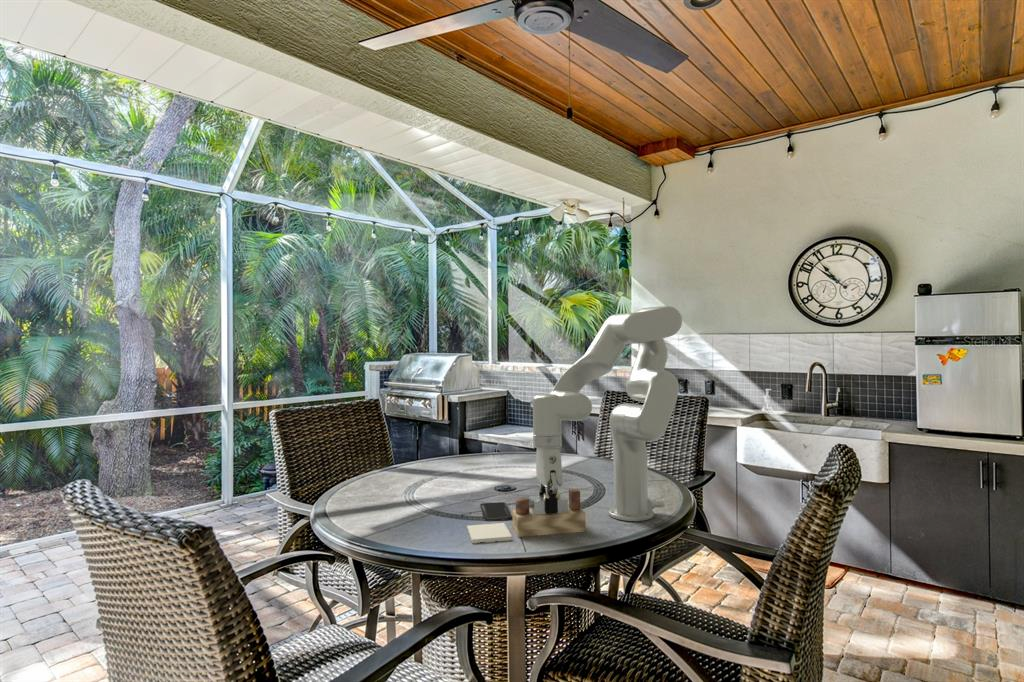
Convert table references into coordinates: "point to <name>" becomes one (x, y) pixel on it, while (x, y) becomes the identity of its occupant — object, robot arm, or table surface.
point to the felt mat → (489, 533)
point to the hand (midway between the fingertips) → (548, 509)
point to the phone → (495, 511)
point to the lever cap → (539, 504)
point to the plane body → (549, 518)
